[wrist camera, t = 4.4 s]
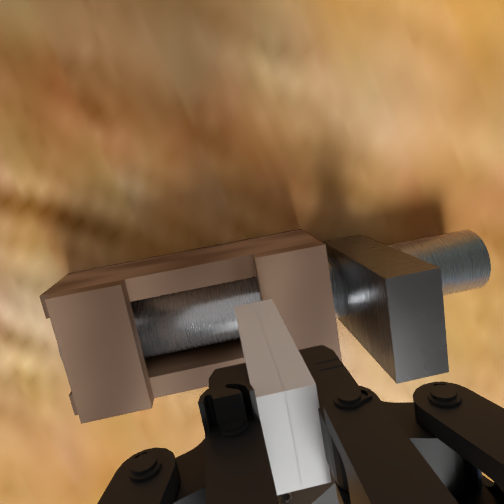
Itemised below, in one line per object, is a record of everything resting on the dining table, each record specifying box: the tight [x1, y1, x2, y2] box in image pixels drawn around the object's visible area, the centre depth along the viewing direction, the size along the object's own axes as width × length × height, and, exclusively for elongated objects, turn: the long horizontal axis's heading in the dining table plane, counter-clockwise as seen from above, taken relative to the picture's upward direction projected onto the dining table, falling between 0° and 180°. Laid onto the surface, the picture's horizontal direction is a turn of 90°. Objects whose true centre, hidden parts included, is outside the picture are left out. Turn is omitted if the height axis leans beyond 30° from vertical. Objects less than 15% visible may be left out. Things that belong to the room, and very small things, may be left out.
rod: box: [59, 230, 491, 383], centre depth 18 cm, size 20×4×8 cm, turn 100°
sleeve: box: [40, 229, 342, 424], centre depth 20 cm, size 12×6×5 cm, turn 100°
